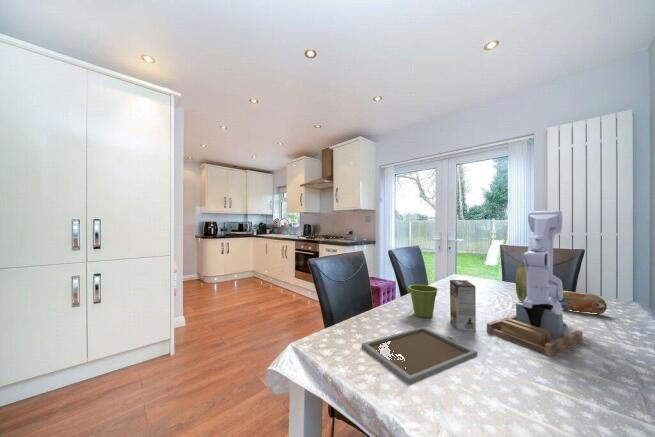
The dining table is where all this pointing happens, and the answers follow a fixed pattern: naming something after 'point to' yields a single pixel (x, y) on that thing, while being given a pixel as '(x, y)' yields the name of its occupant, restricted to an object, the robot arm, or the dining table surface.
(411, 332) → the picture frame
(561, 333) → the blue grey rectangular slab
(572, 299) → the tin
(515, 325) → the offcut
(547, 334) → the offcut
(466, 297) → the coffee box
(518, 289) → the vegetable
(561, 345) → the rack
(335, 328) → the dining table surface
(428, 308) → the plant pot
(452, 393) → the dining table surface
